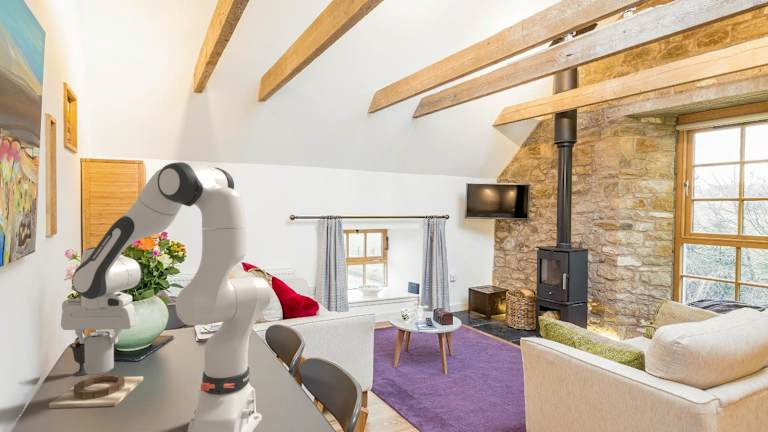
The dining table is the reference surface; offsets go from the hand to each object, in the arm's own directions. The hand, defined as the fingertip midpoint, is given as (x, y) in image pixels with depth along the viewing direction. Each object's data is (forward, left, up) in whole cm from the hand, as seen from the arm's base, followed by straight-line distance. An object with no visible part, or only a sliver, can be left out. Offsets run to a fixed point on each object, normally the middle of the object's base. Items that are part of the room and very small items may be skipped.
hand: (99, 343), depth 134 cm
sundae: (+16, +14, -16) cm, 27 cm away
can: (0, 0, -9) cm, 9 cm away
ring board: (0, 0, -16) cm, 16 cm away
